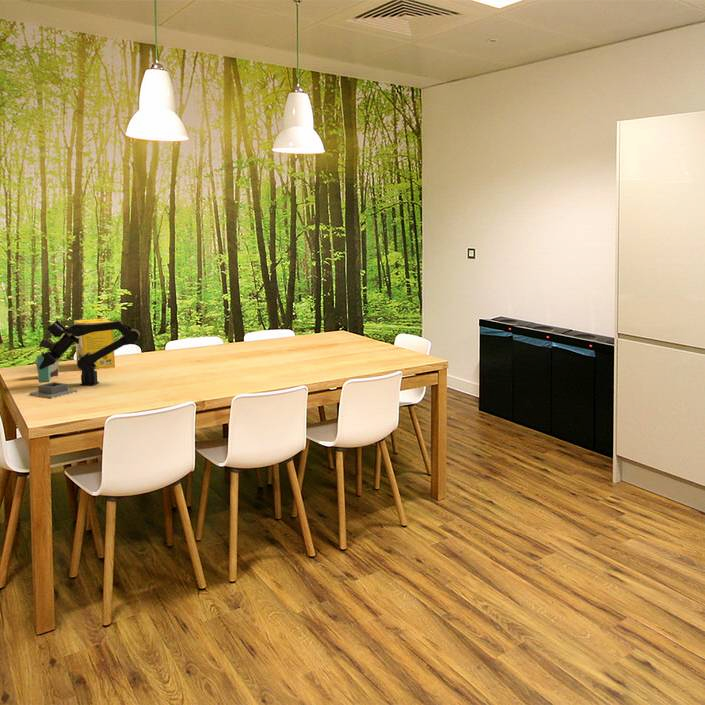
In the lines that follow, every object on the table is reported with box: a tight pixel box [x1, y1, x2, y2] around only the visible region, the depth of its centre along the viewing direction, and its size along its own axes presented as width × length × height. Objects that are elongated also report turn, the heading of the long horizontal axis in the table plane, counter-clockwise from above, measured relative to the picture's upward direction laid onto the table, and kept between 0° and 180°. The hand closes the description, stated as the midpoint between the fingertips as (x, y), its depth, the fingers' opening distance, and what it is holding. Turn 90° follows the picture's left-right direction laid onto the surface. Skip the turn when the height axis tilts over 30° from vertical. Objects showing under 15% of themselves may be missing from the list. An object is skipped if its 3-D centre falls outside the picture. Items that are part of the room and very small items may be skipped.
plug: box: [36, 351, 52, 384], centre depth 327 cm, size 4×4×14 cm
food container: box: [34, 357, 61, 378], centre depth 348 cm, size 12×6×10 cm, turn 141°
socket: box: [29, 381, 78, 399], centre depth 314 cm, size 14×14×4 cm
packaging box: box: [73, 317, 116, 370], centre depth 372 cm, size 16×16×25 cm
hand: (40, 367), depth 327 cm, fingers closed on plug, 4 cm apart
